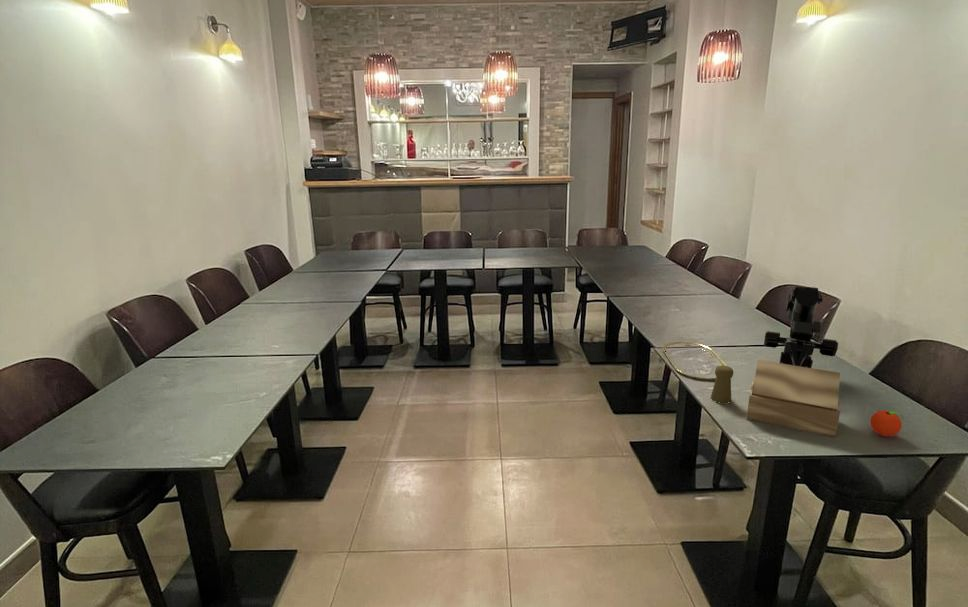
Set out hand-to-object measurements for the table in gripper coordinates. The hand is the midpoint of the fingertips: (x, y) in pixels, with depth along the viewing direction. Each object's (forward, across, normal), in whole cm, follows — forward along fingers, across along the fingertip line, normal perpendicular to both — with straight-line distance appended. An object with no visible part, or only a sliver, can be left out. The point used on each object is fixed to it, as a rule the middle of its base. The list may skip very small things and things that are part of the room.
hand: (796, 369), depth 157 cm
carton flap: (+6, 0, -4) cm, 7 cm away
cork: (+11, -19, +9) cm, 24 cm away
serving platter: (-9, -31, +29) cm, 44 cm away
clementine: (+12, +23, +8) cm, 27 cm away
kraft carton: (+13, 0, +6) cm, 15 cm away
